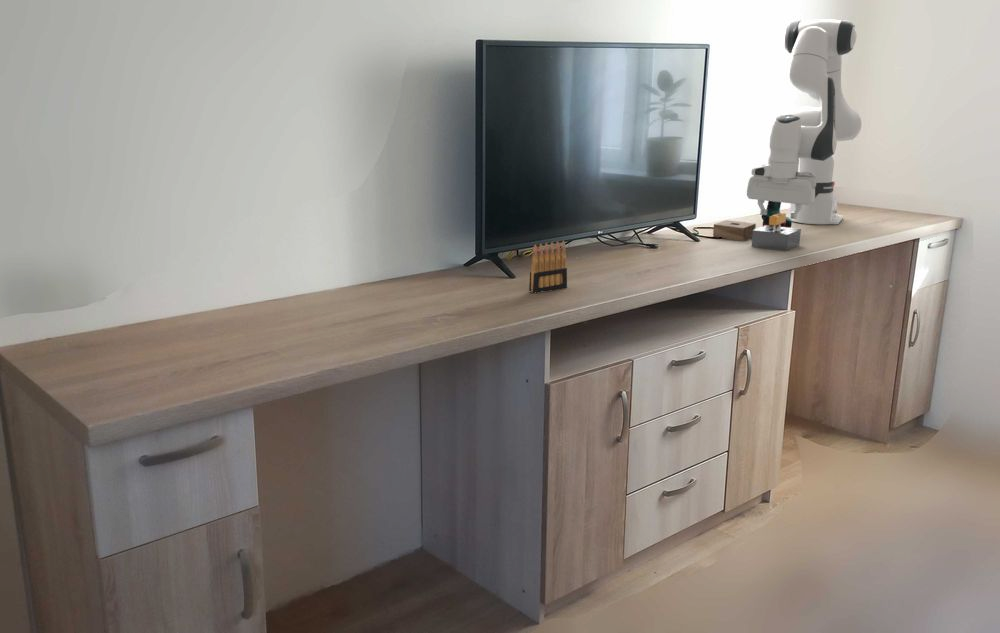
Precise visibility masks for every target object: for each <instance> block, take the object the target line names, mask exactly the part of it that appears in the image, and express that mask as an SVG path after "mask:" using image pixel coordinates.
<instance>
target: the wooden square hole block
mask: <svg viewBox="0 0 1000 633" xmlns="http://www.w3.org/2000/svg"><path fill="white" fill-rule="evenodd" d="M756 226H757V224H756V223H753V222H745V221H736V220H731V219H729V220H728V219H725V220H722V221H719V222H717V223H714V224H713V230H712V232H713V233H712V237H713V236H714V237H713V238H719V237H722V238H721V239H728V240H733V241H746V240H748V239H750V238H751V239H752V235H753V230H755V229H757V228H756Z"/></svg>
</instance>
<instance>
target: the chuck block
mask: <svg viewBox="0 0 1000 633" xmlns="http://www.w3.org/2000/svg"><path fill="white" fill-rule="evenodd" d="M773 229H774V226H770V225H765V226H763V225H762V226H759V227H758V228H756V229H755V230H753V235H752V237H751V247H753V248H762V249H769V250H775V251H776V250H777V251H782V250H783V251H782V252H788V251H790V250H793V249H795V248H797V247H799V246H800V244H801V235H802V234H801V232H802V229H801V228H793V227H791V228H786V227H780V231H773ZM794 247H795V248H794ZM792 248H793V249H792Z"/></svg>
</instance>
